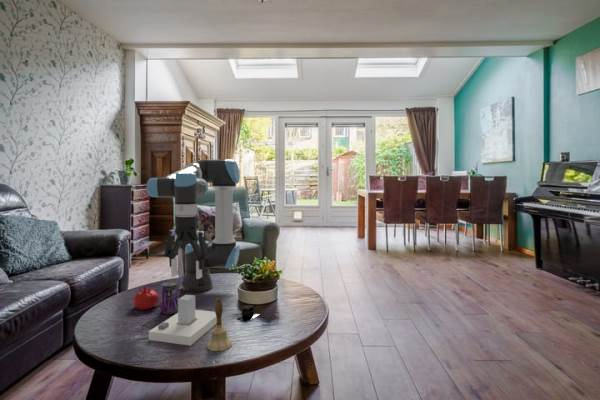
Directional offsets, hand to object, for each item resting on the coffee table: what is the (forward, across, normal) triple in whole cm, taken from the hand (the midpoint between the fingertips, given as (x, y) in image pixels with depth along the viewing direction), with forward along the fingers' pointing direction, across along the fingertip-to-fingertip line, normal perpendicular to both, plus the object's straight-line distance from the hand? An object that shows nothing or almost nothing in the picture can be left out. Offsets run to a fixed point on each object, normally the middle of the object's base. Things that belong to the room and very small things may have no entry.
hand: (186, 276), depth 128 cm
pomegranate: (+20, -29, +15) cm, 38 cm away
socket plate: (+20, 0, 0) cm, 20 cm away
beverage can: (+20, -16, +13) cm, 29 cm away
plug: (+20, 0, 0) cm, 20 cm away
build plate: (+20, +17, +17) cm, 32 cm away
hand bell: (+20, +17, -8) cm, 27 cm away
